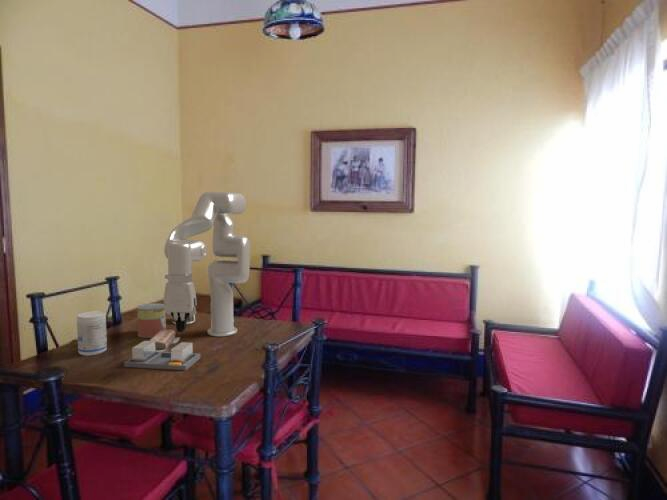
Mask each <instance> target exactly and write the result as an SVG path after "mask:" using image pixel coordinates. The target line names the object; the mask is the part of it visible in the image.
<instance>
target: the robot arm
mask: <svg viewBox="0 0 667 500" xmlns="http://www.w3.org/2000/svg"><path fill="white" fill-rule="evenodd" d="M246 207H247V201H246V197H245V196H244V195H243V194H241V193H236V192H229V191H206V192H204V193H202V194H200V196H199V198H198V200H197V202H196V205H195V207H194V210H193V212H192V214H191V216H190V217H188V218H187V219H186V220H184V221H182V222H180V223H179V224H177V226H175V227H174V228H173V229H172V230H171V232H170V233H169V235H168V237H167V239H166V242H165V244H164V248H163V249H164V251H163V252H164V256H165V257H166V258H167V270H168V273H167V274H165V275H164V279H166V280H167V282H166V283H165V286H164V292H163V293H164V294H163V304H164V310H165V314H166V315H169V316H171V317H172V318H173V317H174V320H176V324H175V329H176V332H177V333H184V332H185V330H186V329H187V324H186V319H187V318H188V317H189V316H191V315H195V316H196V314H197V310H196V309H197V294H196V288H195V283H194V281H192V280H193V278H192V262H201V261H202V260H204V259H205V258H206V255H207V252H208V251H207V246H206V244H205V243H204V242H203V241H200V240H195V239H194V240H193V239H192V240H191V239H190V240H189V238H191V237H194V236H197V235H200V234H203V233H205V232H206V233H207V232H208V231H209V230H211V229H213V230H212V231H213V233H212V252H213V255H214V256H215V257H219V258H235V259H237V260H223V259H222V260H220V259H219V260H214V261H211V262H210V263H209V265H208V266H207V276H208V281H209V290H210V328H208V329H207V333H206V334H208V335H209V336H210V337H211V336H212V337H228V336H232V335H235V334H237V332H238V328H237V327H235V326H234V325H235V324H234V322H235V318H234V291H233V288H232V287H231V285H230V284H243V283H244V284H245V283H247V282H248V280H249V278H250V267H251V266H250V265H251V262H250V261H251V241H250V240H249V238H248V237H247V236H246V235H234V222H233V220H232V218H231V217H230V216H229V215H241V214H243V213H244V212H245V210H246ZM181 313H182V314H181Z"/></svg>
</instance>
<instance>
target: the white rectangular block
mask: <svg viewBox="0 0 667 500" xmlns="http://www.w3.org/2000/svg"><path fill="white" fill-rule="evenodd" d="M193 345H194V344H193V342H186V341H185V342H184V341H182V342H180V343H178V344H177V345H175V346H174V347H173V348H170V352H171V362H180V363H182V364H181V365H184V364H186V363H187V362H188V361H189V360H190V359H192V358H193V352H194V348H193Z"/></svg>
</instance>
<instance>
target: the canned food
mask: <svg viewBox="0 0 667 500" xmlns="http://www.w3.org/2000/svg"><path fill="white" fill-rule="evenodd" d="M136 308H137V310H136V312H137V316H136V317H137V336H138V337H139V338H145V339H146V338H147V339H151V338H152V337H154V336H155V335H156V334H157V333H158V332H159V331H160V330H167V320H166V315H167V314H166V313H165V310H164V303H156V302H154V303H145V304H141V305H140V304H139V305H138V306H136Z"/></svg>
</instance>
